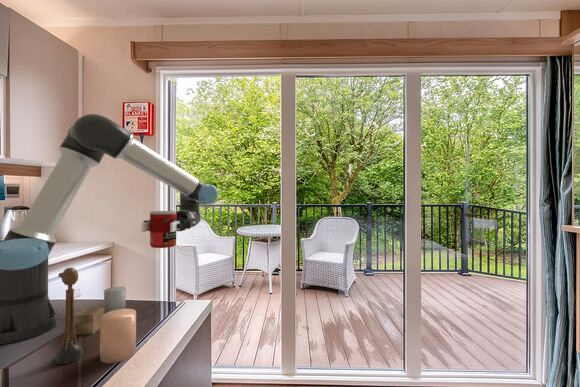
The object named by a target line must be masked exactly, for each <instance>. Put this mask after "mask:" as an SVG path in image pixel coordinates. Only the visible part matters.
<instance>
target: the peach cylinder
mask: <svg viewBox="0 0 580 387" xmlns="http://www.w3.org/2000/svg"><path fill="white" fill-rule="evenodd" d="M99 332H100V334H99V335H100V336H99V337H100V338H99V346H100V347H99V360H100V362H101V363H105V364H116V363H120V362H124V361H126V360H128V359H130V358H132V357H133V356H134V355H135V354H136V351H137V350H136V349H137V311H136V310H135V309H133V308H125V309H118V310H113V311H110V312H107V313H105V314H103V315H102V316H101V317H100V329H99Z"/></svg>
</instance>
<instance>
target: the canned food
mask: <svg viewBox="0 0 580 387" xmlns="http://www.w3.org/2000/svg"><path fill="white" fill-rule="evenodd" d="M176 211H177V210H156V211H155V210H153V211H150V214H149V220H150V231H149V245H150V247H151V248H153V249H165V248H167V249H168V248H173V247H176V245H177V231H174V232H170V223H173V222H176V221H177V213H176Z"/></svg>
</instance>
